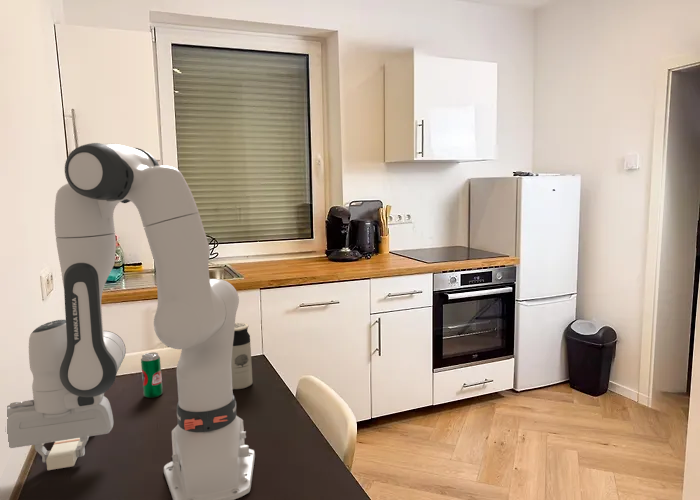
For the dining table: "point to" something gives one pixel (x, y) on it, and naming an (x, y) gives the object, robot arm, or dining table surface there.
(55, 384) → the robot arm
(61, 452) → the ticket
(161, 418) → the dining table surface
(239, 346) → the white bottle
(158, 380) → the soda can
